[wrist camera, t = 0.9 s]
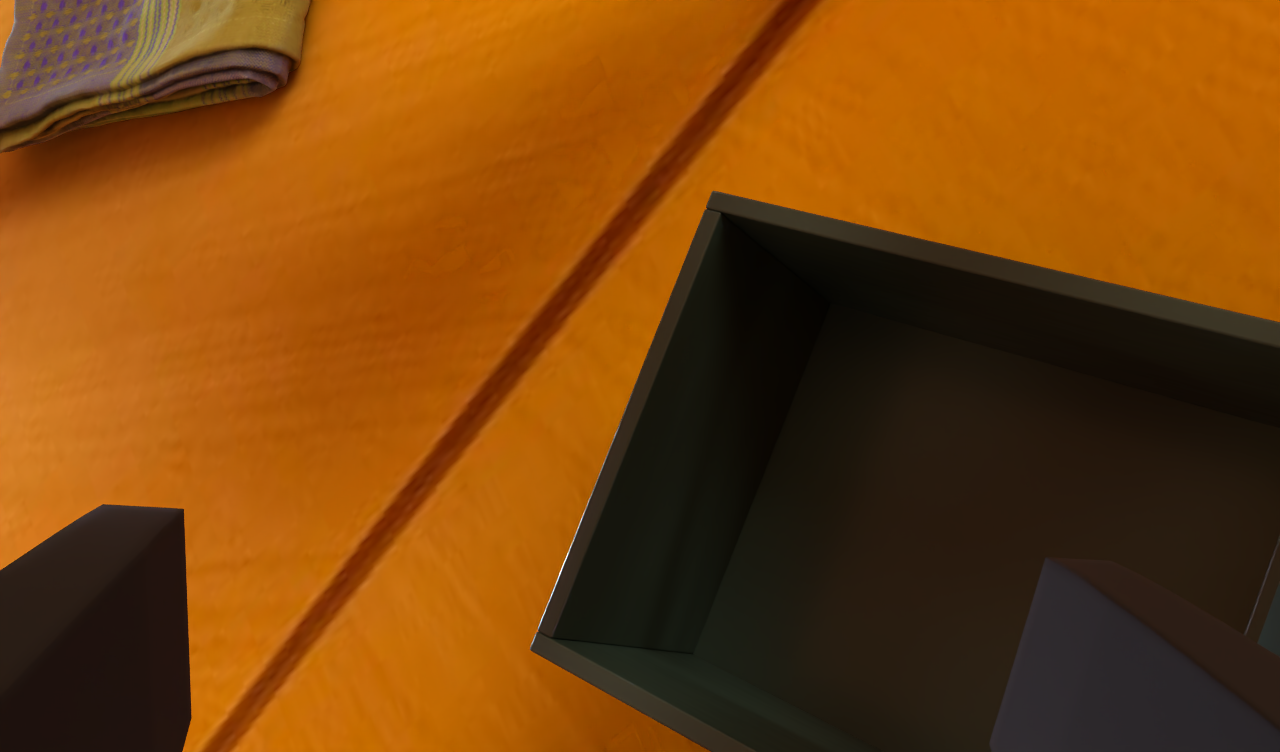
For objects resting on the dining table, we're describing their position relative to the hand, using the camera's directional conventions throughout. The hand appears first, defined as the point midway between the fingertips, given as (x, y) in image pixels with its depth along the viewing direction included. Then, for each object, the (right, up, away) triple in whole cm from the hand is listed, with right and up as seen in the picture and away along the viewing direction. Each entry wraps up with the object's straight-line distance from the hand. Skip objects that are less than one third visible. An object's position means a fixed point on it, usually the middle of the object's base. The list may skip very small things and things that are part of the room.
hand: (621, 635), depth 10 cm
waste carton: (+8, -2, +15) cm, 17 cm away
